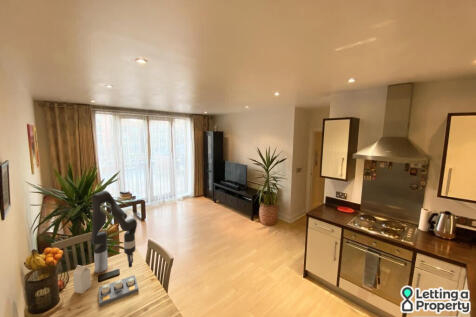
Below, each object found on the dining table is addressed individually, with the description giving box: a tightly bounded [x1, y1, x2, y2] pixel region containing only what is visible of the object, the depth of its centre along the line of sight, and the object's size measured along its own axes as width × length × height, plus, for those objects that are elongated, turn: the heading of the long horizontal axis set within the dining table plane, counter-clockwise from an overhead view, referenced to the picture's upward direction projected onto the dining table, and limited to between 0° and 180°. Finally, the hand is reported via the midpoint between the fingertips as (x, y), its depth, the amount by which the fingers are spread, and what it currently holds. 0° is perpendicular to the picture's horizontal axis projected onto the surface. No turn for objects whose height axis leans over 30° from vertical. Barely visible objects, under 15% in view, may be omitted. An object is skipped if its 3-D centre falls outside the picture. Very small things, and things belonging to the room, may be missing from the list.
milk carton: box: [72, 264, 92, 294], centre depth 146 cm, size 7×7×19 cm
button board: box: [98, 274, 139, 308], centre depth 146 cm, size 17×24×3 cm
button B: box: [114, 279, 122, 290], centre depth 146 cm, size 5×5×4 cm
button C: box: [127, 278, 134, 287], centre depth 151 cm, size 5×5×4 cm
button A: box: [101, 283, 110, 295], centre depth 141 cm, size 5×5×4 cm
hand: (130, 266), depth 149 cm, fingers closed
